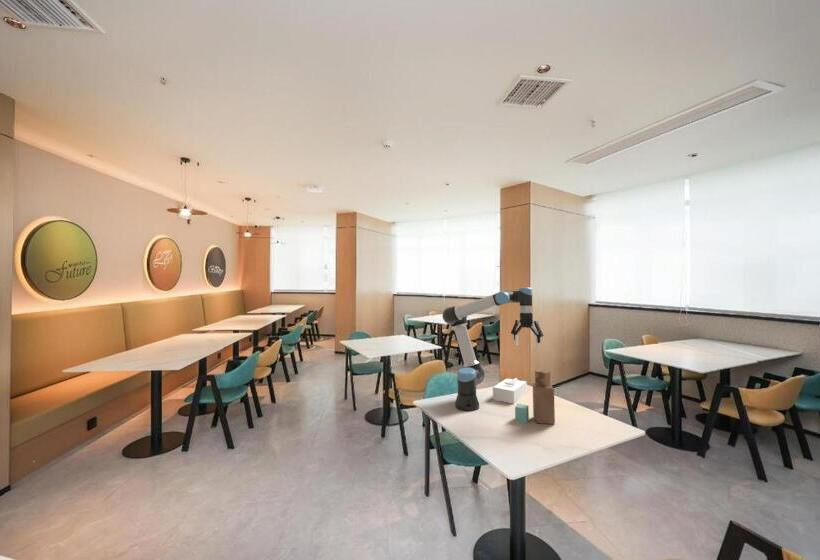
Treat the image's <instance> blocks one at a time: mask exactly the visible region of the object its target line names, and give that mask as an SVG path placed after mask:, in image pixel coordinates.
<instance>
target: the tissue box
mask: <svg viewBox="0 0 820 560" xmlns="http://www.w3.org/2000/svg"><path fill="white" fill-rule="evenodd" d="M527 385H528V384H527V381H526V380H518V378H517V377H515V378H513V379H512V378H505V379H504V380H502V381H500V382H499V383H497V384H495V385H494V386H493V387H492V400H493V401H497V402H502V401H503V402H504V403H507V402H508V404H512V403H513V404H512V405H515V404H517V403H518V401H519V399H520V400H521V399H522V398H524V397H525V396H526V395H527V394H528V393H527V392H528V390H527V387H528V386H527ZM525 394H526V395H525ZM514 403H515V404H514Z"/></svg>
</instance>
